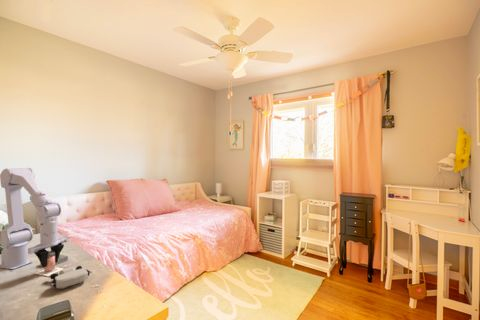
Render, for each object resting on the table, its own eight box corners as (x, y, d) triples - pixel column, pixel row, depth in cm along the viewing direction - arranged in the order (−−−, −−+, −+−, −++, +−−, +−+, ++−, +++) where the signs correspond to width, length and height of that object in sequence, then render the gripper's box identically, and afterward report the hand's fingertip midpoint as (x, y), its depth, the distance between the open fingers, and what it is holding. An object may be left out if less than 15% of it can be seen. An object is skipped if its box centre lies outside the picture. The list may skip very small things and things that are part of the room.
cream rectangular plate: (34, 274, 96) (34, 273, 96) (51, 267, 102) (51, 266, 102) (48, 276, 93) (48, 275, 93) (64, 269, 99) (64, 268, 99)
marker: (41, 270, 96) (41, 253, 96) (51, 266, 100) (51, 250, 100) (48, 271, 95) (47, 254, 95) (57, 267, 99) (57, 251, 99)
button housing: (40, 264, 104) (40, 260, 104) (57, 258, 111) (57, 254, 111) (51, 266, 102) (51, 262, 102) (67, 260, 109) (67, 255, 109)
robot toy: (46, 283, 90) (52, 296, 80) (46, 272, 90) (52, 282, 80) (83, 272, 99) (93, 281, 88) (83, 261, 99) (93, 270, 89)
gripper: (36, 238, 89) (36, 273, 89) (73, 228, 103) (73, 258, 103) (23, 237, 92) (24, 271, 92) (61, 227, 105) (62, 256, 105)
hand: (49, 264), depth 98 cm, fingers closed on marker, 4 cm apart
